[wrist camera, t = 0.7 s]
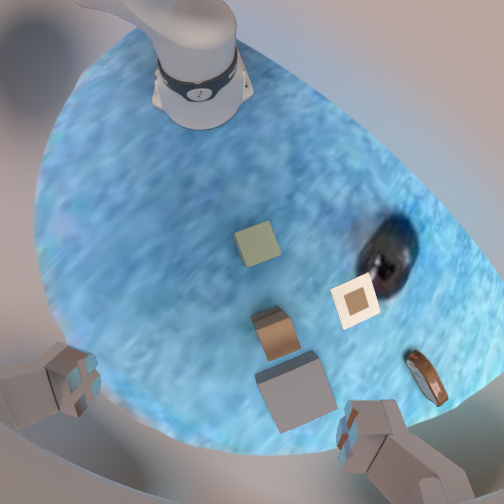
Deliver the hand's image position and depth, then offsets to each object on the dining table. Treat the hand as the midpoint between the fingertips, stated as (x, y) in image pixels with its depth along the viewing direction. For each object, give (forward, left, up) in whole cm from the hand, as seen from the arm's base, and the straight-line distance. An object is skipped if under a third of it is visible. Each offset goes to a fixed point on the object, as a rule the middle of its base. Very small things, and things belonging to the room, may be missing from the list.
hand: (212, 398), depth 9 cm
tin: (+24, +37, -44) cm, 62 cm away
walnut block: (+8, +7, -44) cm, 45 cm away
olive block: (-5, +5, -44) cm, 44 cm away
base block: (+21, +10, -44) cm, 50 cm away
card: (+6, +23, -44) cm, 50 cm away
